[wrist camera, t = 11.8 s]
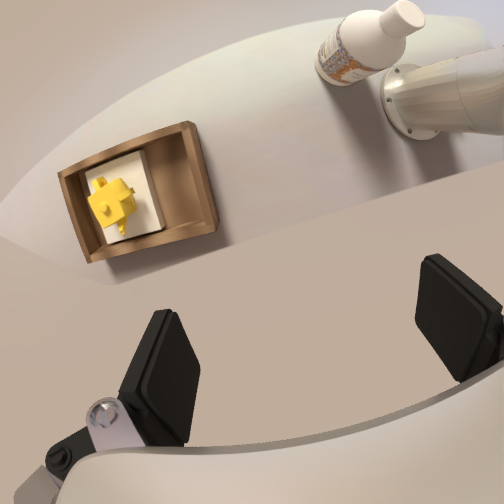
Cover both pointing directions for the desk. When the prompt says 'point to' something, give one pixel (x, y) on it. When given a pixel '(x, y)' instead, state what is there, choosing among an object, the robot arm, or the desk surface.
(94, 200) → the teapot
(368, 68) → the bath foam
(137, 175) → the plate
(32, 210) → the desk surface
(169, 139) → the box
